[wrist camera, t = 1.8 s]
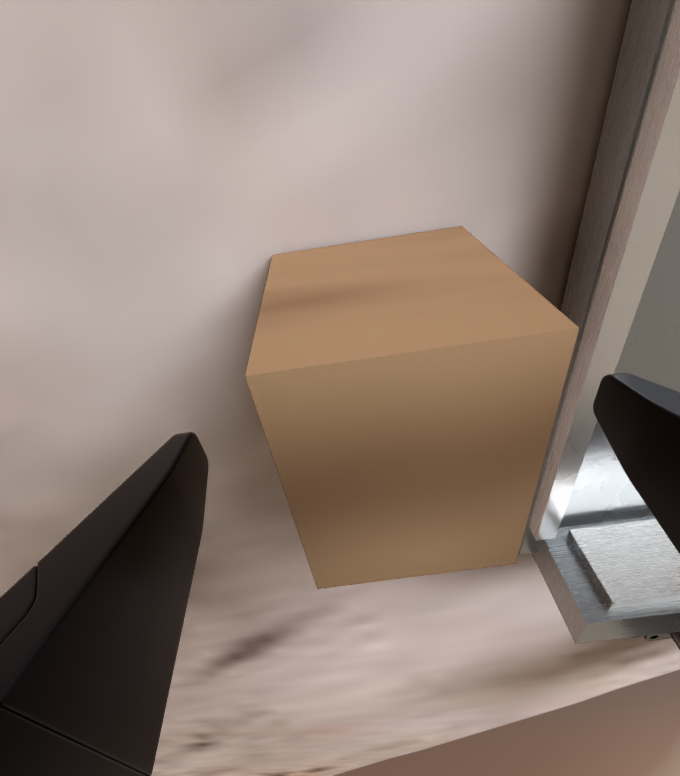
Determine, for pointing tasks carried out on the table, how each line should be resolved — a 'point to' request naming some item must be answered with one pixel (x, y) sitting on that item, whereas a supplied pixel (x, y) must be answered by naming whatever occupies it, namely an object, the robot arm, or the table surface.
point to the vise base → (618, 352)
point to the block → (406, 402)
